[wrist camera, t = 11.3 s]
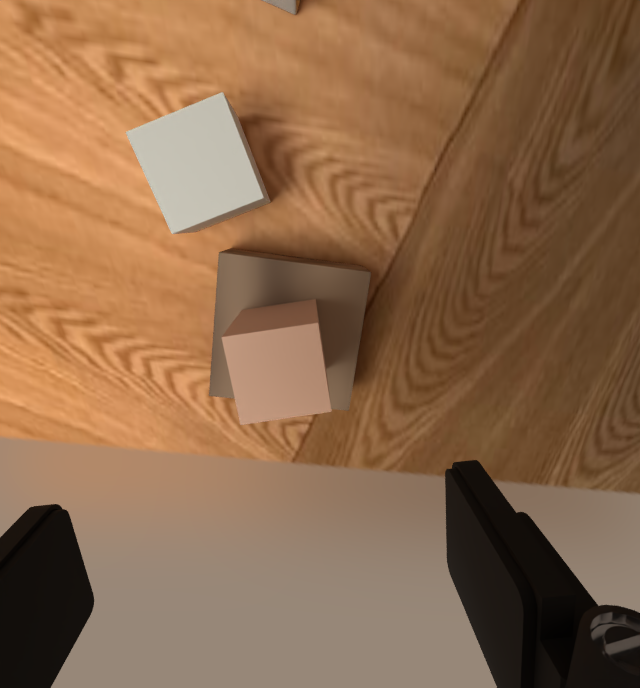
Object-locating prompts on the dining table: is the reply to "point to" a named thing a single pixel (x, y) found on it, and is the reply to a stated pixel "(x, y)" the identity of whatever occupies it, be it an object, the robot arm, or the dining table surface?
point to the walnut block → (286, 287)
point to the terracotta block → (277, 362)
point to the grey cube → (199, 165)
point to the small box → (285, 5)
